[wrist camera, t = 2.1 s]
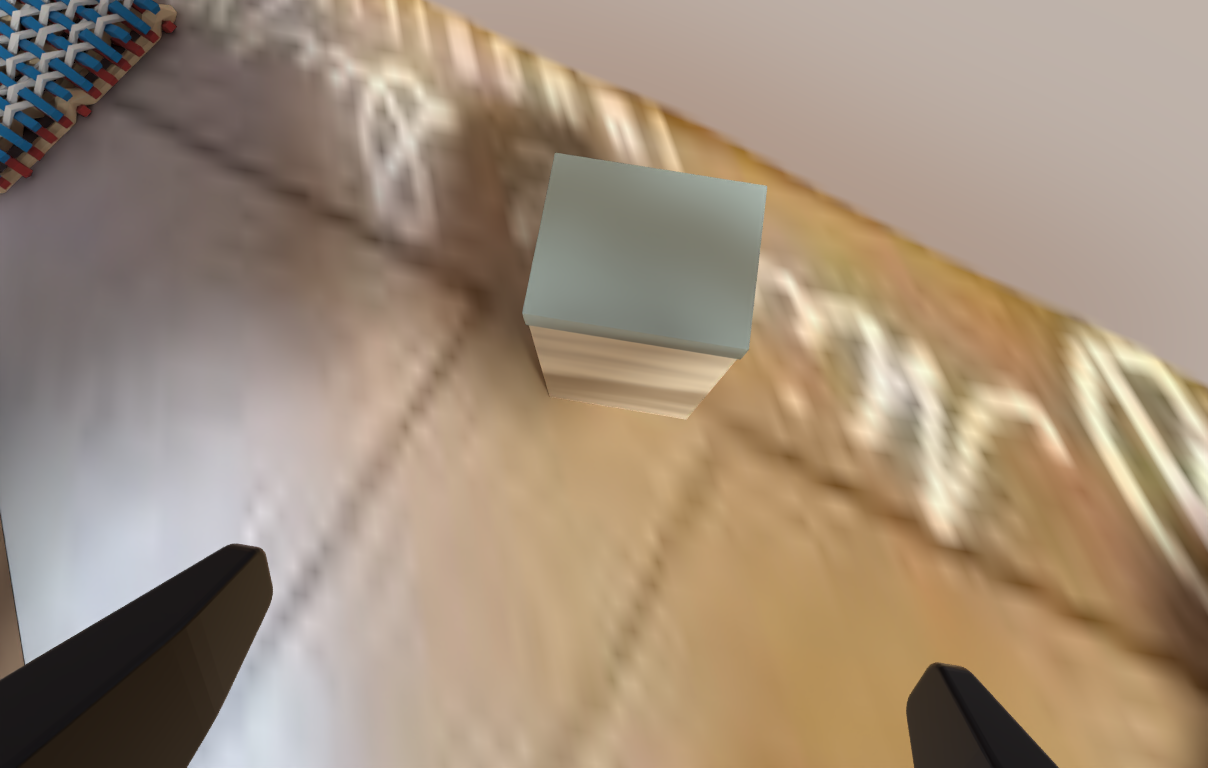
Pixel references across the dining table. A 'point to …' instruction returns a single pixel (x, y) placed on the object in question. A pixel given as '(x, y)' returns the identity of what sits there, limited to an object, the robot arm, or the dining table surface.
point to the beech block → (642, 283)
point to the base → (8, 619)
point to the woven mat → (64, 65)
